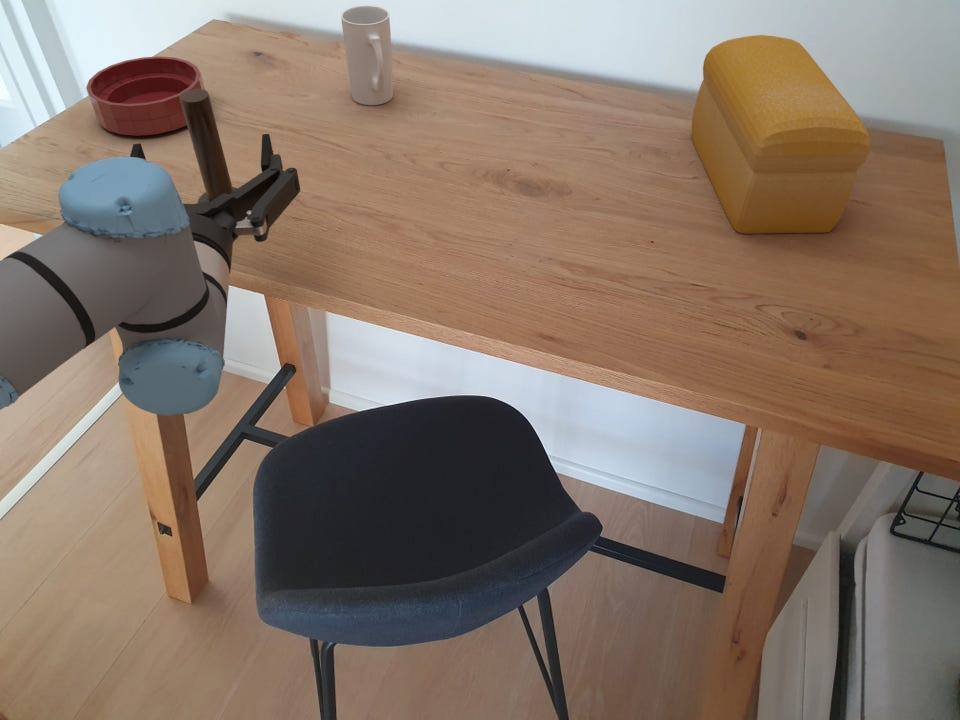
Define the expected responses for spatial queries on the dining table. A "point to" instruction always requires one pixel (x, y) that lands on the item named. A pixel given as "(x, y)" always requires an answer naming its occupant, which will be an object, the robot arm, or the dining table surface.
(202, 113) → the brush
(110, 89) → the bowl
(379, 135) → the dining table surface
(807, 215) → the bread
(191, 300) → the robot arm
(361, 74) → the mug
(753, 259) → the dining table surface
